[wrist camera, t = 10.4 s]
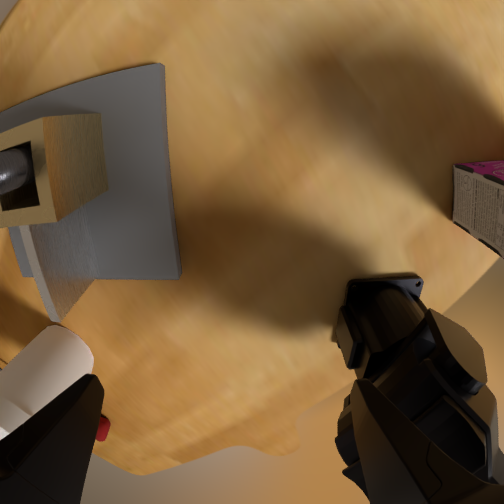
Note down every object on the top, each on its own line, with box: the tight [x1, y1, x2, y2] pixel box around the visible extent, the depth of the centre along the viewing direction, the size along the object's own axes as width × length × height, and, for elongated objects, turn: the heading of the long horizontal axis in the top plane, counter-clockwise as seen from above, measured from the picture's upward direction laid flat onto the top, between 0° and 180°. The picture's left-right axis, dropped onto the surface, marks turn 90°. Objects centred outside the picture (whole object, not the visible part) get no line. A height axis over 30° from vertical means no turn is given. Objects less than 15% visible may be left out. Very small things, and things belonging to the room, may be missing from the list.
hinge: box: [0, 113, 109, 322], centre depth 15 cm, size 11×11×6 cm
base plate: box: [0, 63, 182, 280], centre depth 17 cm, size 15×14×1 cm
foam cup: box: [0, 325, 94, 440], centre depth 19 cm, size 10×9×13 cm
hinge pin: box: [0, 145, 36, 195], centre depth 12 cm, size 2×2×8 cm
